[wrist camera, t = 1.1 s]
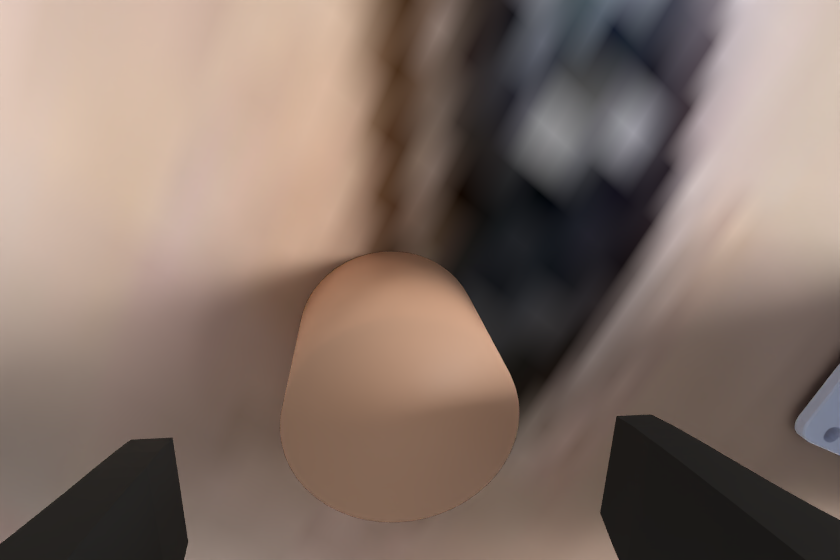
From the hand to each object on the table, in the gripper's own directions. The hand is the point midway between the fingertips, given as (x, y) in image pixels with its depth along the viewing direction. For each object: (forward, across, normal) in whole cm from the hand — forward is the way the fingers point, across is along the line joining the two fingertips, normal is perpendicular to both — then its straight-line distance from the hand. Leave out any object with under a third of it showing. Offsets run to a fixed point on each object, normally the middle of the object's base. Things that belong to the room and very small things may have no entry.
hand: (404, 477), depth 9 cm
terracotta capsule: (+5, 0, 0) cm, 5 cm away
